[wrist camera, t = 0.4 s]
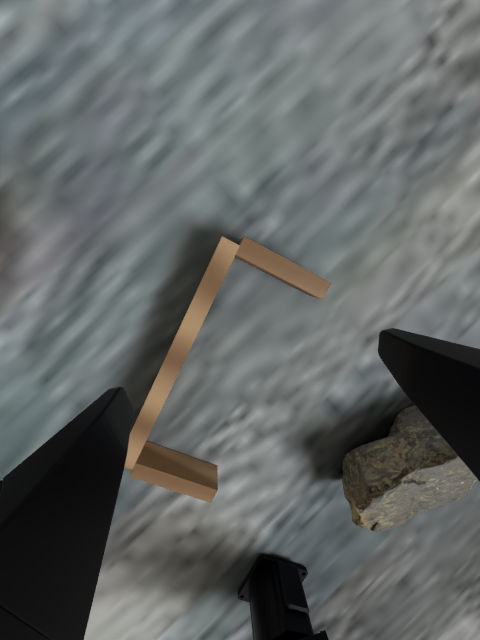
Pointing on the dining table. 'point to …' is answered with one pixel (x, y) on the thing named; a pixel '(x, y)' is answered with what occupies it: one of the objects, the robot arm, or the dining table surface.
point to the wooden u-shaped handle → (147, 456)
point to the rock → (403, 474)
